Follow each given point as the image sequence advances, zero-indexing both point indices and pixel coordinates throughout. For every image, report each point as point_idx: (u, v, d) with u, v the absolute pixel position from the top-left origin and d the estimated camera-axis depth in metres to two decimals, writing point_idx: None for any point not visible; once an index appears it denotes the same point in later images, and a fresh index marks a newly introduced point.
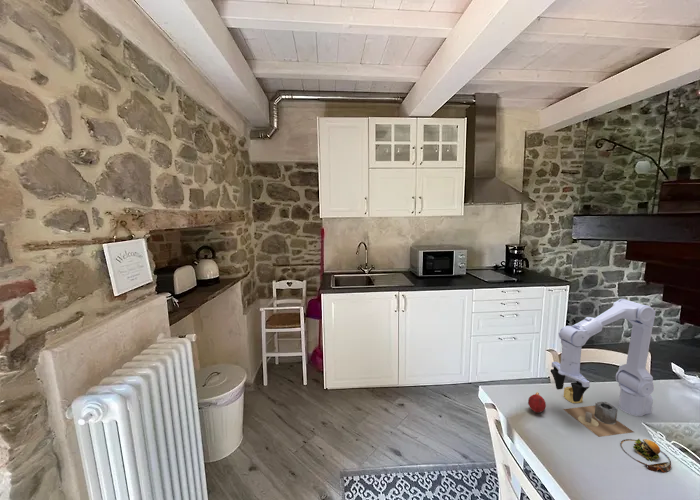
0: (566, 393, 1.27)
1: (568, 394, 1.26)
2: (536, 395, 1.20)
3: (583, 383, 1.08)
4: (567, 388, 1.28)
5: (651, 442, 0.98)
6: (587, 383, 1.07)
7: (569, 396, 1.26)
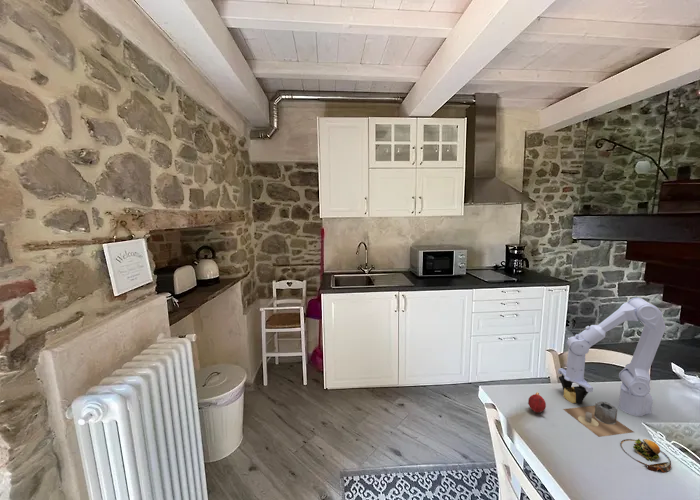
0: (566, 393, 1.27)
1: (568, 394, 1.26)
2: (536, 395, 1.20)
3: (587, 388, 1.19)
4: (567, 388, 1.28)
5: (651, 442, 0.98)
6: (591, 388, 1.19)
7: (569, 396, 1.26)
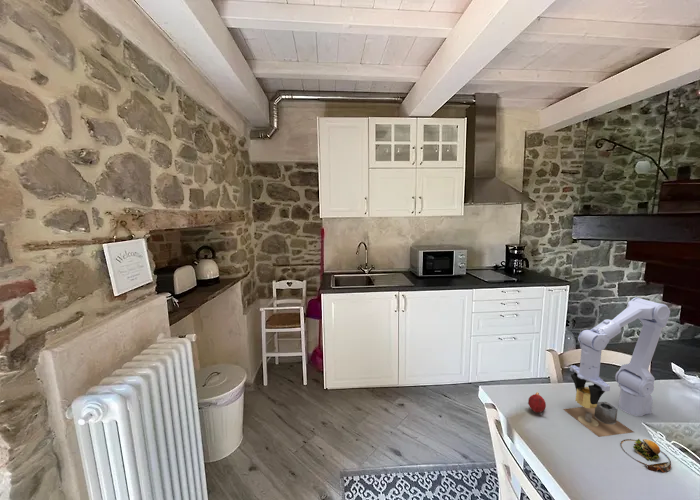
0: (579, 394, 1.15)
1: (581, 395, 1.14)
2: (536, 395, 1.20)
3: (603, 387, 1.08)
4: (580, 388, 1.16)
5: (651, 442, 0.98)
6: (607, 387, 1.07)
7: (583, 397, 1.14)
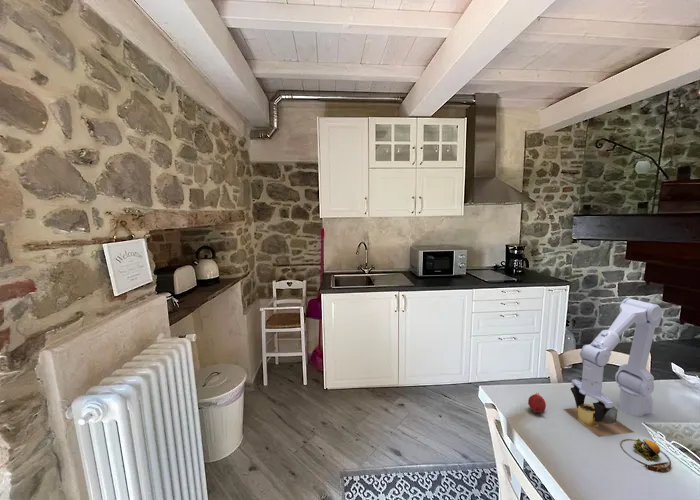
0: (581, 411, 1.14)
1: (583, 413, 1.13)
2: (536, 395, 1.20)
3: (606, 404, 1.06)
4: (582, 406, 1.15)
5: (651, 442, 0.98)
6: (610, 404, 1.06)
7: (584, 415, 1.13)
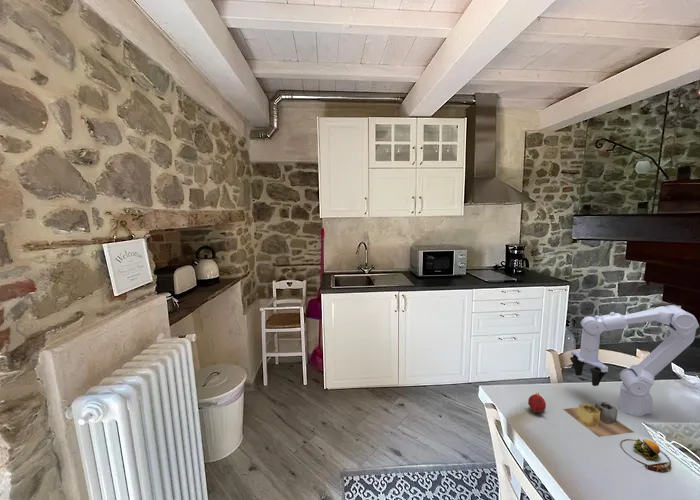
0: (581, 411, 1.14)
1: (583, 413, 1.13)
2: (536, 395, 1.20)
3: (602, 368, 1.17)
4: (582, 406, 1.15)
5: (651, 442, 0.98)
6: (606, 368, 1.17)
7: (584, 415, 1.13)
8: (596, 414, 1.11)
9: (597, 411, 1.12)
